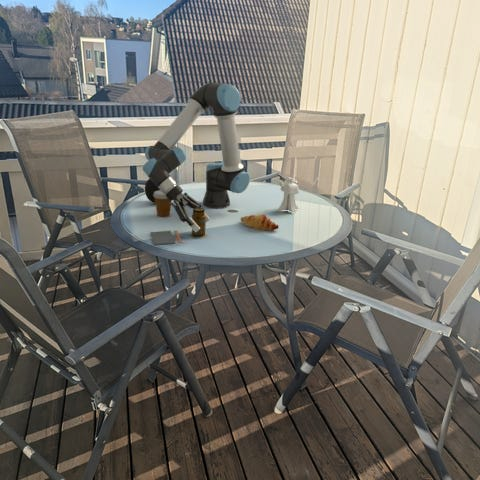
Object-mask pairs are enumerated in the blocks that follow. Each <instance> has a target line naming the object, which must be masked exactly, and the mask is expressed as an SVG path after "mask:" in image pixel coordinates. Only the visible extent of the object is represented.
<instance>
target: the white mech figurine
mask: <svg viewBox="0 0 480 480" xmlns="http://www.w3.org/2000/svg"><path fill="white" fill-rule="evenodd" d="M277 181H278V185H279V186H280V189H279V190H280V191H281V192H283V197H282V198H283V199H282V200H281V204H280V205H279V207H278V208H277V211H278V210H279V211H282V210H289V211H291V212H295V213H296V210H295V209H298V210H299V207H298V206H297V205H298V204H297V203H296V195H298V194H299V193H300V189H299V182H298V181H297V179H295V178H292V177H289V176H288V177H286V178H285V180H284V181H283V180H281V179H278V180H277Z"/></svg>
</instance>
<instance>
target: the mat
mask: <svg viewBox="0 0 480 480" xmlns="http://www.w3.org/2000/svg"><path fill="white" fill-rule="evenodd" d="M150 236H151V238H152V239H151V241H152V242H153V245H154V246H163V245H173V244H174V245H175V244H176V241H175V237H174V235H173V234H172V231H171V230H163V231H162V230H161V231H159V230H158V231H151V232H150Z"/></svg>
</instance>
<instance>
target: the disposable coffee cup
mask: <svg viewBox="0 0 480 480" xmlns="http://www.w3.org/2000/svg"><path fill="white" fill-rule="evenodd" d="M153 196H154V198H155V203H154V204H155V209H156V215H157V217H160V218H167V217H170V215H171V210H172V209H171V208H172V207H171V206H172V204H171V203H172V201H170V200H169V199H168V198H167V197H166V194H164V193H163V192H162V191H160V190H158V191H155V192H154V194H153Z"/></svg>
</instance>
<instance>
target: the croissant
mask: <svg viewBox="0 0 480 480" xmlns="http://www.w3.org/2000/svg"><path fill="white" fill-rule="evenodd" d="M240 221H241V223H243V225H245V226H246V227H248V228H250V229H254V228H255V229H254V230H258V229H259V231H275V230H278V229H279V227H280V226H279V224H276V223H275V222H274V221H272V220H271V219H270V218H268V217H267V216H266V214H262V213H261V214H257V215H255V214H251V215H245V216H242V217H241V218H240Z"/></svg>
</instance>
